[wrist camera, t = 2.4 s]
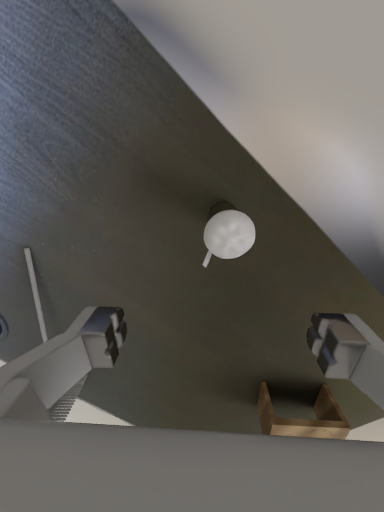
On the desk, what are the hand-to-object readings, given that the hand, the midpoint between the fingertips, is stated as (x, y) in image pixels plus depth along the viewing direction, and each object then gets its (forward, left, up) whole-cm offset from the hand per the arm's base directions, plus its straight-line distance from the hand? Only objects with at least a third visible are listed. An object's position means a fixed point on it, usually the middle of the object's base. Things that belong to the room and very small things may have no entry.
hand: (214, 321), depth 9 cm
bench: (-16, +36, -19) cm, 44 cm away
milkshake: (-1, 0, -19) cm, 19 cm away
